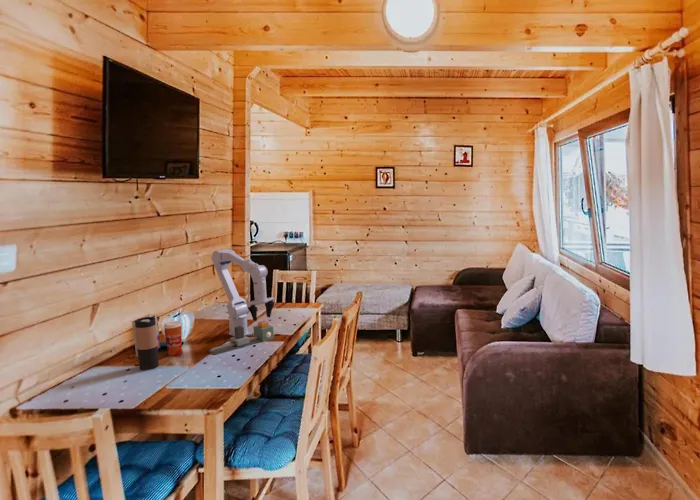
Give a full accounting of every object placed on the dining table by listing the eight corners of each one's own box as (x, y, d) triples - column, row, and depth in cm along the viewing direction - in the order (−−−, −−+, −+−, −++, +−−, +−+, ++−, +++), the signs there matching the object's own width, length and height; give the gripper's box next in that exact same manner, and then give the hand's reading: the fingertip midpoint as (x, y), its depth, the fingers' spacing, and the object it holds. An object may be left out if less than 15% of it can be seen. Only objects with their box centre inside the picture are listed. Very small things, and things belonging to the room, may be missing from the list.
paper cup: (166, 357, 187) (163, 326, 186) (164, 352, 194) (162, 322, 193) (185, 354, 191) (183, 323, 189) (183, 349, 198) (181, 319, 196)
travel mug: (143, 364, 181) (139, 317, 178) (162, 362, 181) (158, 316, 179) (135, 371, 173) (131, 322, 171) (155, 369, 174) (151, 321, 171)
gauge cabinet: (254, 338, 210) (253, 326, 210) (264, 335, 215) (263, 323, 214) (263, 341, 205) (262, 329, 204) (274, 338, 209) (273, 326, 208)
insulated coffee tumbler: (151, 348, 200) (148, 314, 198) (161, 349, 199) (158, 314, 197) (134, 357, 189) (131, 321, 187) (144, 357, 188) (141, 321, 186)
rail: (208, 351, 193) (208, 347, 193) (253, 339, 209) (253, 335, 209) (215, 354, 189) (214, 350, 189) (260, 341, 205) (260, 337, 205)
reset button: (258, 329, 209) (257, 322, 209) (264, 327, 212) (264, 320, 211) (262, 330, 207) (261, 323, 206) (268, 329, 209) (268, 322, 209)
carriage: (230, 342, 201) (229, 327, 200) (241, 339, 205) (240, 324, 204) (238, 346, 196) (237, 330, 195) (249, 342, 200) (248, 327, 199)
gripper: (251, 294, 199) (253, 323, 200) (277, 289, 209) (279, 316, 210) (243, 292, 204) (245, 320, 205) (269, 287, 214) (270, 314, 215)
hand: (261, 318), depth 208 cm, fingers open, 7 cm apart
